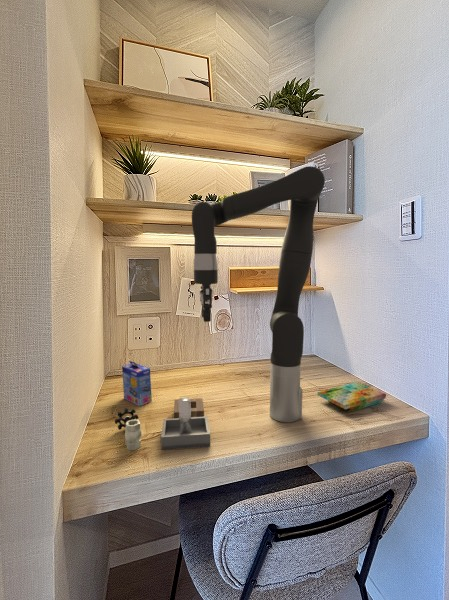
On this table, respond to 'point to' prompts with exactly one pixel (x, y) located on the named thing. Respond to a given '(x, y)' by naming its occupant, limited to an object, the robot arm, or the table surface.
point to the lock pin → (185, 415)
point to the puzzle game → (353, 396)
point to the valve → (130, 428)
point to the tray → (181, 441)
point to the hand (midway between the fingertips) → (206, 319)
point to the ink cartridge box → (137, 383)
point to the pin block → (196, 408)
